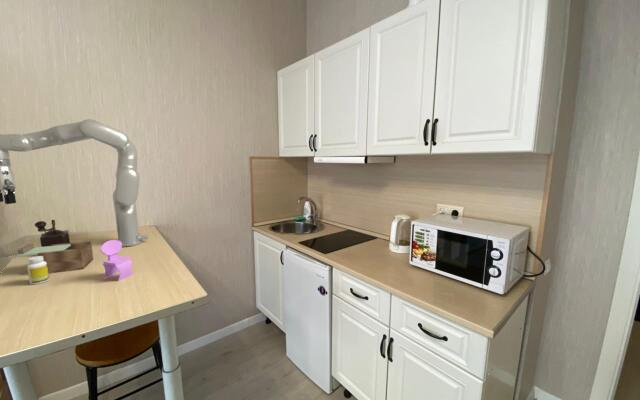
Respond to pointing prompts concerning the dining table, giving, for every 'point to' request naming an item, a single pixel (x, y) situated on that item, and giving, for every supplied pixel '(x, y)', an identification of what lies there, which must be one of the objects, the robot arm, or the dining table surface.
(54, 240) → the brown manual coffee grinder
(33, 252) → the lid
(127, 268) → the toy chair
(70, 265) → the box
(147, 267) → the dining table surface
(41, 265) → the supplement bottle
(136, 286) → the dining table surface
